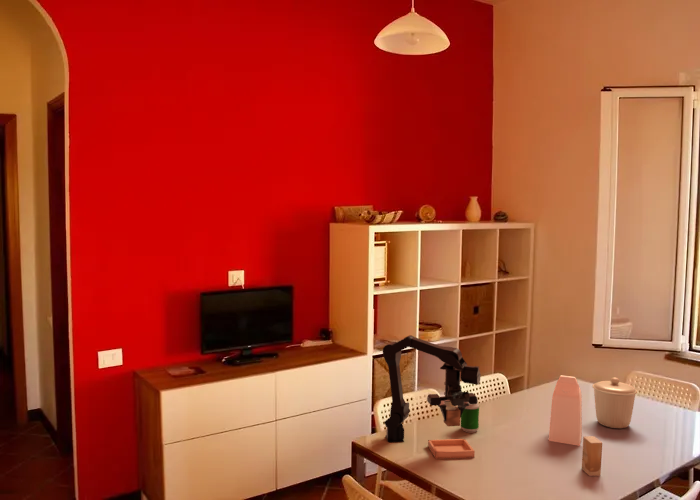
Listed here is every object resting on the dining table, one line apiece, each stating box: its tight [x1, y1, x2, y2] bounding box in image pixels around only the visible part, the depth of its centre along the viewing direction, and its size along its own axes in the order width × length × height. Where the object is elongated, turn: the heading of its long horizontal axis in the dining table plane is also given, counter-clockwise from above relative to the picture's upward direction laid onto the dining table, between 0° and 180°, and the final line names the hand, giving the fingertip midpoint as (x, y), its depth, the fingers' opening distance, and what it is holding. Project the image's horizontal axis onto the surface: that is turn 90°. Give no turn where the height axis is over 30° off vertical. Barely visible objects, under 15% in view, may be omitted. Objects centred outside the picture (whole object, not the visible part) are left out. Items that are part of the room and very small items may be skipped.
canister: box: [591, 376, 638, 429], centre depth 263 cm, size 18×18×21 cm
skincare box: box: [581, 435, 603, 477], centre depth 213 cm, size 6×4×12 cm
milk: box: [548, 375, 583, 447], centre depth 245 cm, size 12×12×26 cm
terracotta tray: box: [427, 438, 476, 460], centre depth 231 cm, size 15×12×2 cm
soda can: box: [460, 402, 480, 434], centre depth 254 cm, size 8×8×12 cm
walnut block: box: [443, 405, 461, 427], centre depth 232 cm, size 5×5×6 cm
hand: (451, 420), depth 232 cm, fingers closed on walnut block, 5 cm apart
